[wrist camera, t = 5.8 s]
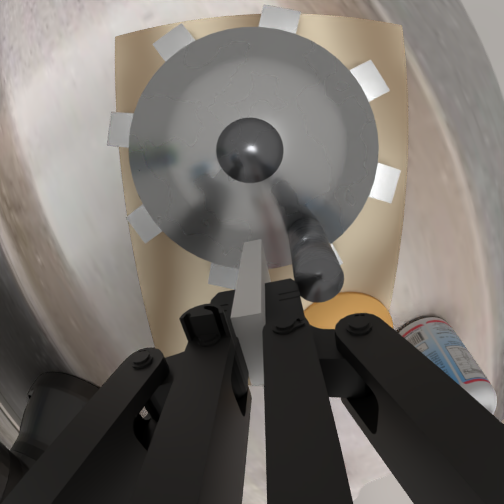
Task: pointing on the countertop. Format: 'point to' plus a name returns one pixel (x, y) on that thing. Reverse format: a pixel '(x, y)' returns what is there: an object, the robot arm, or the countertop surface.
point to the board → (347, 245)
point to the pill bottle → (451, 357)
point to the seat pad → (345, 309)
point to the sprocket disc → (255, 149)
